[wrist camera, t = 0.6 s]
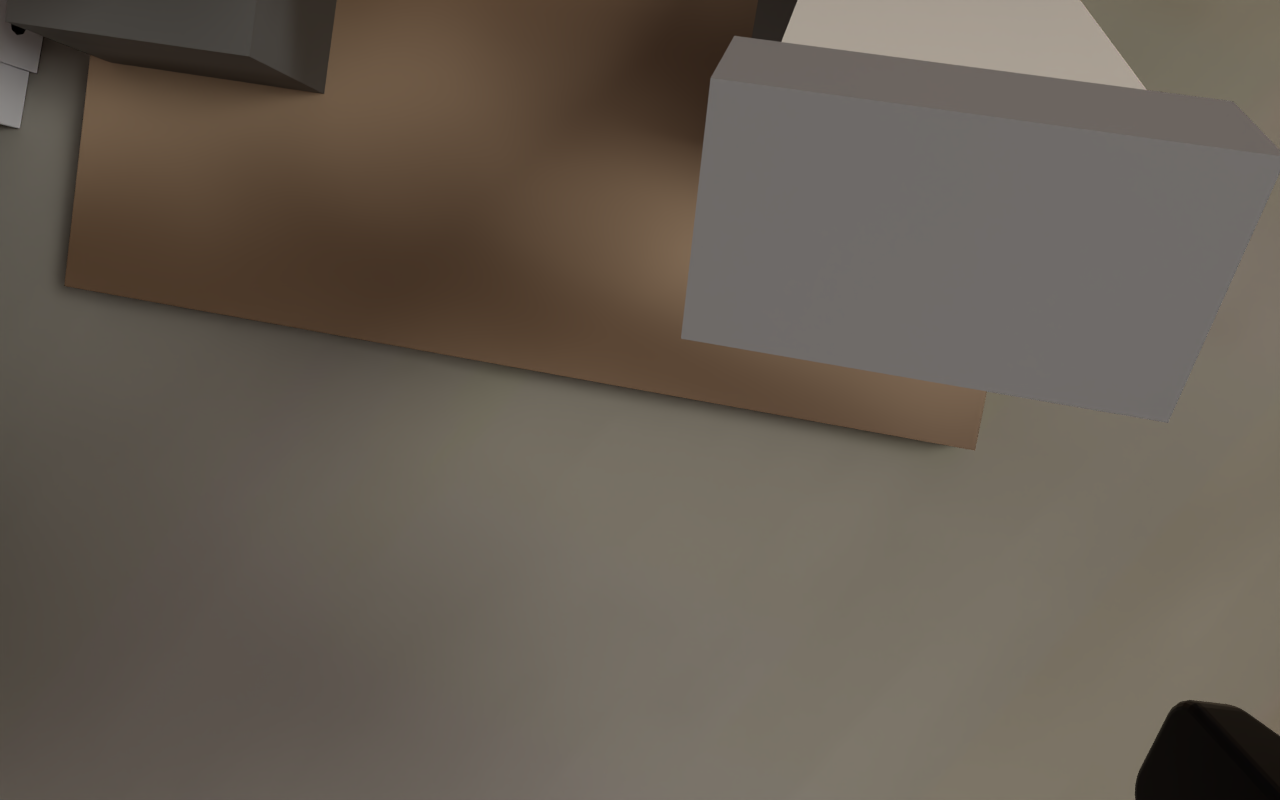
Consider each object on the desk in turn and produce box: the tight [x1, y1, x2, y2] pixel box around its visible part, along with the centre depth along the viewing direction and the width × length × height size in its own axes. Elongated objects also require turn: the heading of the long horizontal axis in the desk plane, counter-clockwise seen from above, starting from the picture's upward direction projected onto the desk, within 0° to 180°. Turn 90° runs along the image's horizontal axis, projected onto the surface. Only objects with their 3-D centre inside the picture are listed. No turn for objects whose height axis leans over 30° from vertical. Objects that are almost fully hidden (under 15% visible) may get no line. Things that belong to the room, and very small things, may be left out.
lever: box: [681, 0, 1280, 423], centre depth 12 cm, size 2×4×11 cm, turn 80°
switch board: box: [5, 0, 987, 450], centre depth 20 cm, size 14×20×4 cm
